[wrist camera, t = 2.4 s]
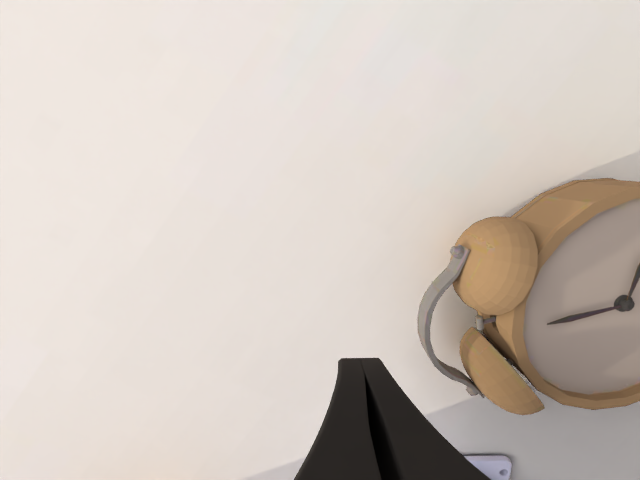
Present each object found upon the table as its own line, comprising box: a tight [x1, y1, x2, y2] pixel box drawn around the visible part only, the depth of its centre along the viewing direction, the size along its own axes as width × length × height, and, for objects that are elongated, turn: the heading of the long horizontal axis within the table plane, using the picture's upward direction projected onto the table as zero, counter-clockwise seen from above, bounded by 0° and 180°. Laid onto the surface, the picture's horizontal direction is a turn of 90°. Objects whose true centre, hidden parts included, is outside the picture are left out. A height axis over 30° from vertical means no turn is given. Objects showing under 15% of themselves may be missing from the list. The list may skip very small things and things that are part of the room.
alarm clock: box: [418, 178, 640, 415], centre depth 17 cm, size 11×5×15 cm
